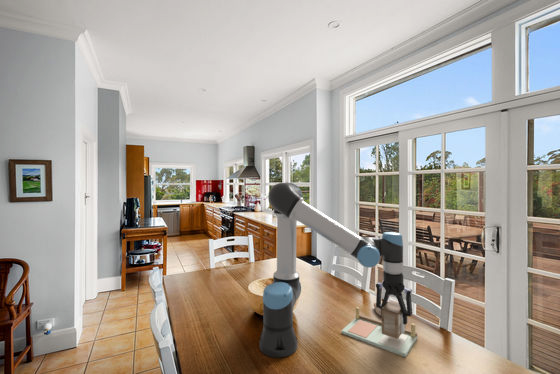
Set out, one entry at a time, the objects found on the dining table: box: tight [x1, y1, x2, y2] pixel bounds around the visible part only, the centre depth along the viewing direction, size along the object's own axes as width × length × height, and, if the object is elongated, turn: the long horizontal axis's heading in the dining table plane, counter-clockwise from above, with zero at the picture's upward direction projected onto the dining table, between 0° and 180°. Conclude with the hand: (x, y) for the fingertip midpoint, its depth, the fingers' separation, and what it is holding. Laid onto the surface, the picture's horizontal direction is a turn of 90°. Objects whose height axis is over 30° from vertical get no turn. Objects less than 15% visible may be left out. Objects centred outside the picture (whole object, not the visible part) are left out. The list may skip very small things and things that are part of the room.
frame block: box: [381, 300, 402, 339], centre depth 110 cm, size 10×6×10 cm, turn 140°
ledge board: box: [341, 306, 418, 358], centre depth 115 cm, size 26×16×6 cm, turn 50°
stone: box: [373, 302, 382, 317], centre depth 135 cm, size 5×14×4 cm, turn 3°
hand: (394, 328), depth 110 cm, fingers closed on frame block, 6 cm apart
